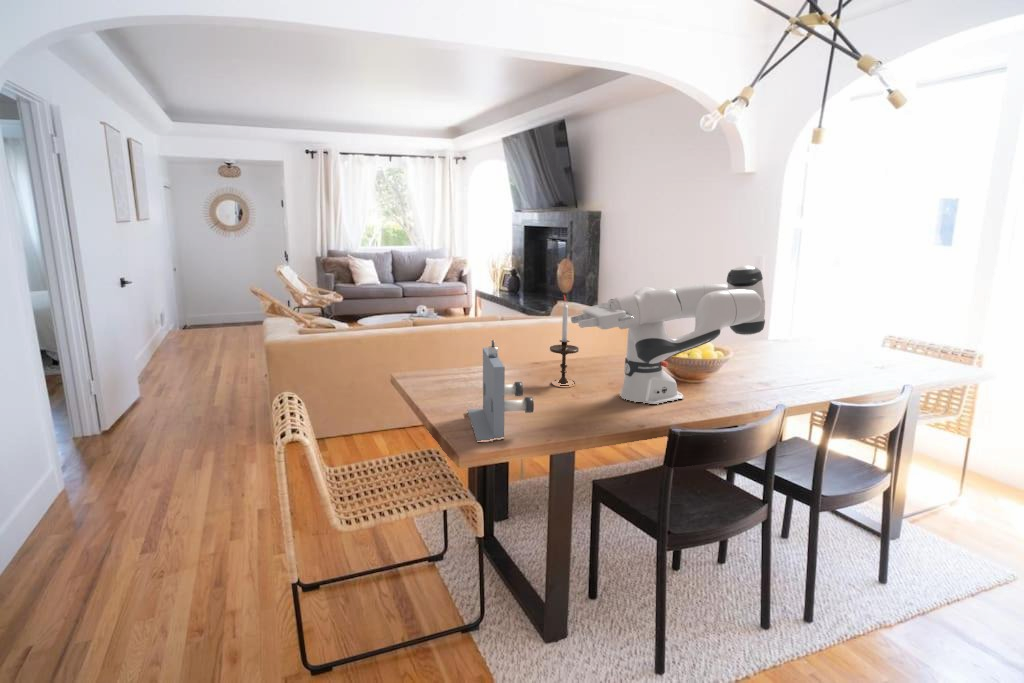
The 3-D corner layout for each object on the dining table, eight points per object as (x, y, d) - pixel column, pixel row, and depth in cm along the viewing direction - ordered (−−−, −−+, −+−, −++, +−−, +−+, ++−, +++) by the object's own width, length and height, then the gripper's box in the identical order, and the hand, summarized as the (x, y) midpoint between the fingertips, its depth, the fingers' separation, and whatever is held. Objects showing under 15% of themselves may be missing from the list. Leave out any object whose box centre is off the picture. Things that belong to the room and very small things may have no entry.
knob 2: (530, 409, 176) (530, 394, 175) (533, 414, 171) (533, 399, 170) (497, 411, 174) (497, 396, 173) (499, 416, 169) (500, 401, 168)
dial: (496, 355, 178) (496, 339, 176) (498, 357, 175) (498, 341, 174) (487, 355, 177) (487, 339, 176) (489, 358, 174) (489, 341, 173)
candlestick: (546, 387, 221) (548, 295, 213) (551, 379, 231) (553, 291, 224) (575, 389, 218) (578, 296, 211) (579, 381, 229) (582, 292, 221)
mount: (491, 411, 193) (491, 346, 189) (504, 441, 168) (505, 367, 164) (467, 412, 192) (466, 347, 187) (477, 443, 167) (476, 368, 162)
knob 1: (520, 393, 191) (520, 379, 190) (522, 397, 186) (523, 383, 185) (489, 394, 189) (489, 381, 188) (491, 399, 185) (491, 385, 184)
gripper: (637, 328, 151) (586, 339, 150) (614, 319, 171) (569, 328, 170) (634, 304, 150) (582, 315, 149) (611, 298, 170) (565, 307, 169)
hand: (575, 322), depth 159 cm, fingers open, 8 cm apart
